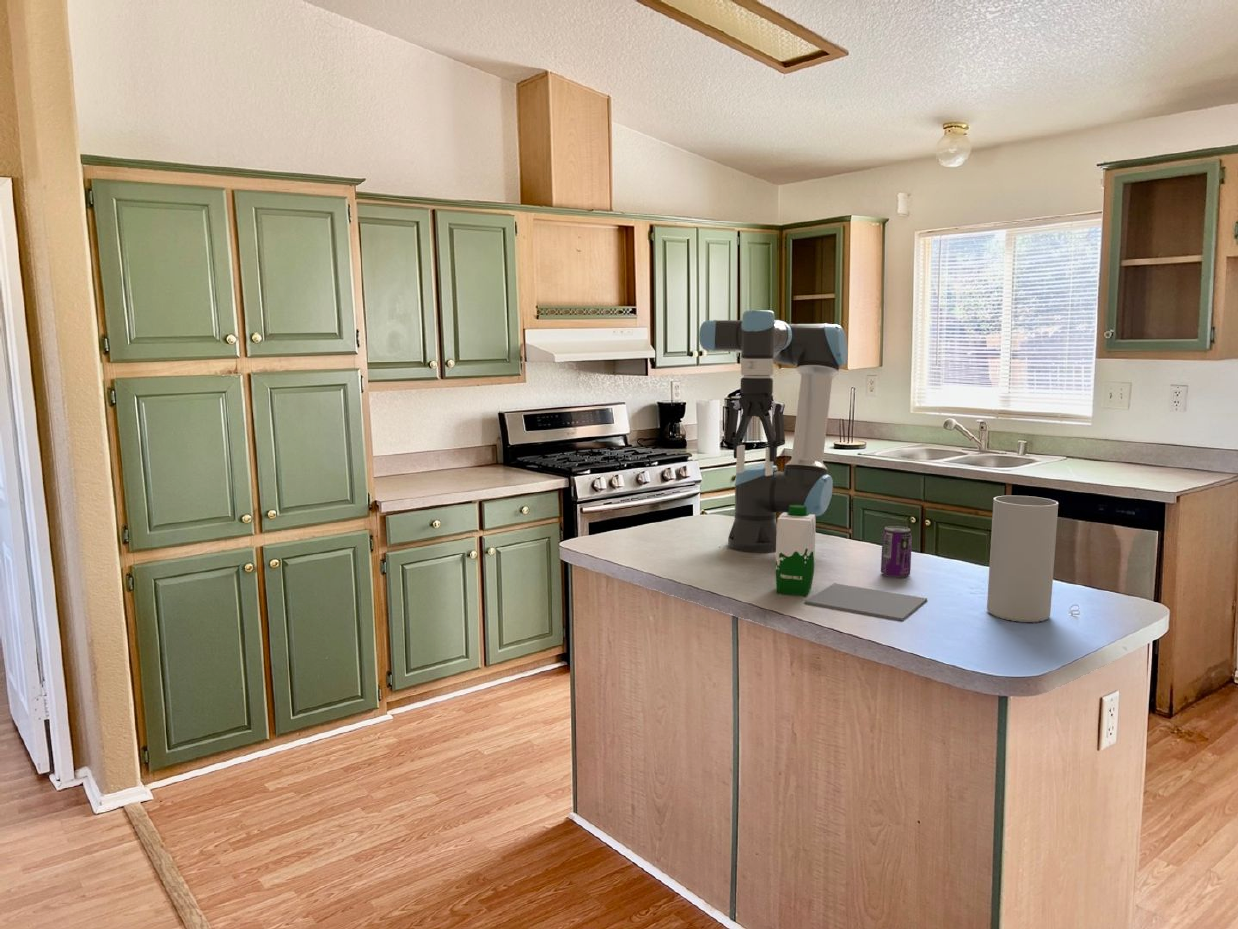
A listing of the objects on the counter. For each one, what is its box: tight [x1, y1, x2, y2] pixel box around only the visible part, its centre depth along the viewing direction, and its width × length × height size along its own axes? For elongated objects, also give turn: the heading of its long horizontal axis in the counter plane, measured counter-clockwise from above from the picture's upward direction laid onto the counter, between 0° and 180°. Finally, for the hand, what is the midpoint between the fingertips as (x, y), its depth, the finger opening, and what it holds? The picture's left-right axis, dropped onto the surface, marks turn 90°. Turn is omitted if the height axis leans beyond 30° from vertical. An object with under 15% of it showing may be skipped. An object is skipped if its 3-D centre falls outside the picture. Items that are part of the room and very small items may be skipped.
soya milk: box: [775, 505, 816, 597], centre depth 209 cm, size 9×9×20 cm
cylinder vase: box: [986, 495, 1059, 623], centre depth 191 cm, size 12×12×25 cm
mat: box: [803, 583, 928, 622], centre depth 201 cm, size 22×18×1 cm
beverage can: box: [880, 525, 913, 579], centre depth 224 cm, size 7×7×12 cm
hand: (754, 473), depth 213 cm, fingers open, 7 cm apart
